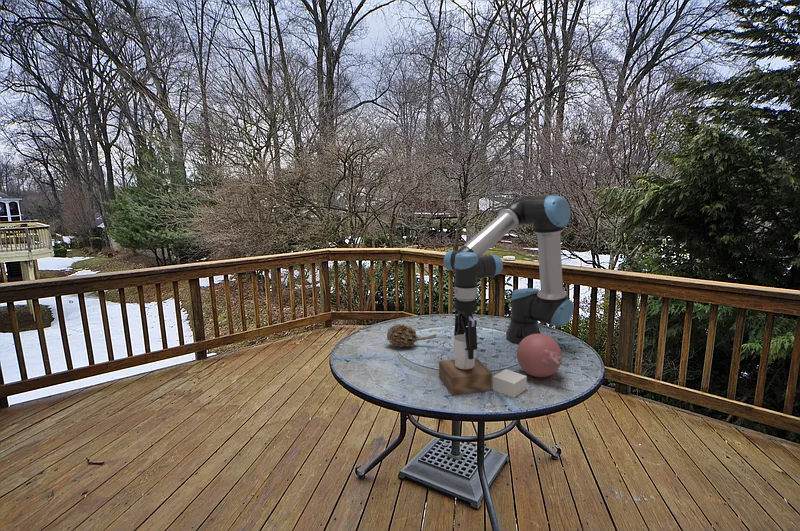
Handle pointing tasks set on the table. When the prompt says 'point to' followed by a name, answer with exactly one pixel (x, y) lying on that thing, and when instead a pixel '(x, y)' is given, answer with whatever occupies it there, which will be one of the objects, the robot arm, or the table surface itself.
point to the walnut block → (465, 377)
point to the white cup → (460, 351)
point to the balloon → (539, 355)
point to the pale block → (509, 383)
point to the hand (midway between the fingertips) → (464, 362)
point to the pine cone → (404, 336)
